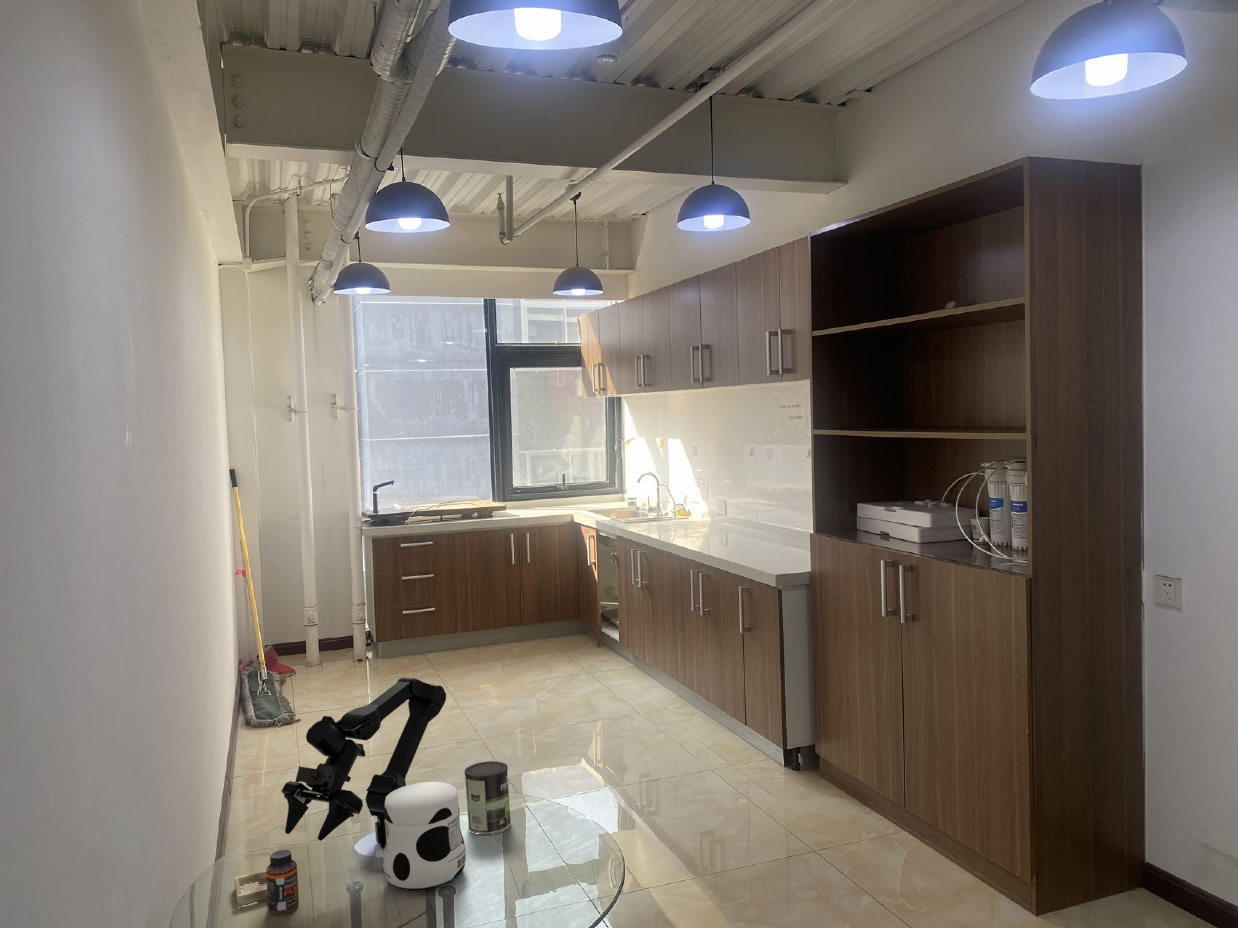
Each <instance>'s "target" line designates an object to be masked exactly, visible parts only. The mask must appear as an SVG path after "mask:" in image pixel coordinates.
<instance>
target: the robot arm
mask: <svg viewBox="0 0 1238 928" xmlns="http://www.w3.org/2000/svg"><path fill="white" fill-rule="evenodd" d="M446 700H447V693H446V691H445V689H444V687H443V686H442V685H436V684H430V683H427V682H424V681H422V680H420V679H419V678H415V677H401V678H399V679H398V680H397V682H396V683H395V684H393V685H392V686H390V687H389V688H388V689H387V690H385V691H384V692H383V693H382V694H380V695H378V696H377V697H376V698H374V700H373V701H371V702H370V703H368V704H366V705H363V706H359V707H356V708H354V709H351V710H349V711H347V712H345V713H344V714H343V715H342V717H341V718H340V719H338V720H337V721H336V720H335V719H334V718H333V717H332V716H330V715H329V716H328V715H323V717H321V720H319V721H316V722H315V723H313V724H312V725H311V726H310V727H309V728H308V730H307V732H306V735H305V740H306V742H307V743H308V744H309V745H310V746H312V747H313V748H314V749H315V750H316V751H317V752H319V753H320V754H321V755H323V756H324V757H327V758H326V759H325V762H324V763H319V764H318V765H317V766H316V768H313V767H312V768H311V767H306V766H298V769H297V772H296V773H297V774H296V778H295V781H291V780H290V781H287V782H285V783H284V786H283V787H282V789H281V791H280V792H281V794H283V797H284V798H285V799H286V801H287V804H288V805H287V806H288V807H287V816H286V824H285V829H284V833H285V834H287V835H290V834H291V832H292V831H293V830H294V829H295V828H296V826H297V825H298V823H299V822H300V821H301V819H302V818H303V817H304V815H305V814H306V812H307V811H308V810H309V808H310V807H309V806H308V805H309V804H311V802H312V801H315V802H316V801H317V802H323V803H328V813H327V815H326V817H325V819H324V820H323V821H324V822H323V824H322V825H321V827H320V829H319V833H318V835H317V840H319V841H323V840H325V838H326V837H328V835H330V834H331V833H332V832H333V831H334V830H336V829H337V828H338V827H339V826H340V825H341V824H343V823H344V822H346V821H347V820H348V819H350V818H353V817H354V816H355V814H356V815H360V813H361V812H362V809H363V807H364V802H363V799H362V798H360V796H359V795H357V794H356V793H354V792H353V791H352V790H347V789H343V786H344V785H345V782H347V783H350V781H351V779H352V777H351V776H349V775H350V772H351V770H352V768H353V766H354V764H355V762H356V760H357V758H358V757H363V758H364V757H366V751H365V749H364V744H363V743H357V742H355V741H354V740H358V741H359V740H360V741H369V740H371V738H373V737H374V735H376V733H377V732H379V730H380V728H381V726H382V725H381V724H382V722H383V720H384V719H386V718H387V717H388V716H389V715H391V714H392V713H393V712H394V711H396V710H397V709H398V708H400V707H401V706H402V705H404V704H405V703H406V702H407V701H408V702H407V705H408V713H409V715H408V718H407V720H406V723H405V725H404V727H403V729H402V732H401V734H400V736H399V738H398V740H397V744H396V746H395V748H394V750H393V753H392V755H391V757H390V760H389V762H388V765H387V766H386V769H385V770H384V771H383V772H382V773H381V774H377V773H375V774H373V776H372V778H371V781H370V784H369V786H368V787H367V788H366V789H365V790H366V796H365V803H366V807H367V808H368V811H369V813H370V816H372V817H376V822H375V823H374V828H375V830H374V831H375V840H376V842H377V844H379V846H380V848H381V849H385V845H386V828H385V814H384V808H385V800H386V796H388V795H389V794H390V793H391V792H392V791H394V790H396V789H398V788H401V787H404V786H407V784H406V777H407V775H408V773H409V770H410V768H411V765H412V763H413V761H414V758H415V755H416V753H417V751H418V748H419V747H420V743H421V742H422V739H423V737H424V734H425V732H426V730H427V728H428V724H429V723H431V721H432V720H433V719H435V717H437V716H438V715H439V714H440V712H441V710H442V708H443V707H444V705H445V703H446ZM303 783H304V784H303ZM310 788H311V789H310Z"/></svg>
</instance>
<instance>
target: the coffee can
mask: <svg viewBox="0 0 1238 928" xmlns="http://www.w3.org/2000/svg"><path fill="white" fill-rule="evenodd" d="M508 769H509V768H508V765H507V764H506V763H504V762H501V761H490V760H489V761H482V762H477V763H473V764H472V765H469V766H467V767H466V768H465V769H464V776H465V777H464V779H465V791H466V793H465V795H466V806H467V807H466V809H467V822H468V825H467V826H468V828H469V829H468V828H467V829H468V831H469V830H470V831H471V832H473V833H479V834H482V835H481V836H484V835H483V834H491V835H493V834H492V833H497V834H500V833H502V832H501V831H503V830H505V831H506V830H508V829H509V828H510V827H511V826H512V821H511V810H510V806H511V805H510V793H509V780H508V778H509V777H508ZM507 828H508V829H507ZM470 831H469V832H470ZM471 832H470V833H471ZM499 832H500V833H499ZM503 832H504V831H503ZM473 833H472V834H473Z"/></svg>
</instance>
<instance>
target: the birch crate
mask: <svg viewBox="0 0 1238 928" xmlns="http://www.w3.org/2000/svg"><path fill="white" fill-rule="evenodd" d="M233 879H234V892H235V891H236V892H235V898H236V897H237V898H236V903H237V904H238V905H237V908H238V907H241V906H243V905H248V904H251V903H254V902H258V903H259V904H261V902H262V903H265V902H268V898H267V881H266V869H264V870H259V871H256V872H252V873H248V874H244V875H239V876H236V877H234V878H233ZM255 882H259V883H258V884H260V885H258V886H260V887H257V888H255V889H256V890H253V891H248V892H247V891H245V892H247V893H243V892H244V891H243V890H240V889H241V888H240V886H243V885H245V884H250V883H255ZM242 889H243V888H242ZM241 892H242V893H241Z"/></svg>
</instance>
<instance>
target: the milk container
mask: <svg viewBox="0 0 1238 928" xmlns="http://www.w3.org/2000/svg"><path fill="white" fill-rule="evenodd" d="M384 814H385V828H386V845H385V848H384V851H383V855H382V856H383V857H382V864H383V871H384V875H385V878H386V880H387V881H388V882H389V883H390V885H391V886H394V887H396V888H398V889H400V890H404V891H405V890H406V891H412V892H414V891H415V892H416V891H426V890H427V891H428V890H432V889H436V888H439V887H442V886H444V885H447V884H449V883H451V882H452V881H454V880H455V879H456V878H457V877H458V878H459V876H460V875H461V874H462V872H463V870H464V869H465V866H466V859H467V847H466V842H465V839H464V836H463V834H462V830H461V823H460V821H461V820H460V819H461V817H460V816H461V815H460V807H459V795H458V790H457V788H456V786H454V785H453V784H450V783H447V782H443V781H440V782H439V781H425V782H424V781H422V782H416V783H410V784H408V785H407V784H406V786H404V787H401V788H398V789H396V790H394V791H392V792H391V793H390V794H389V795H388V796H386V800H385V808H384Z"/></svg>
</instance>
